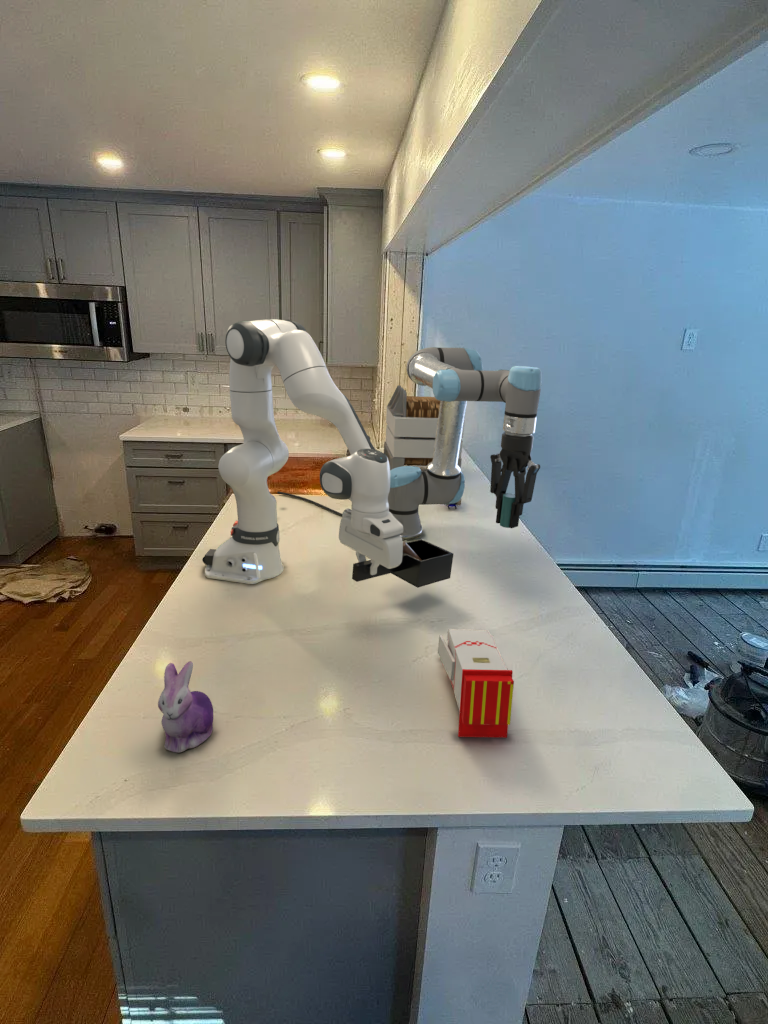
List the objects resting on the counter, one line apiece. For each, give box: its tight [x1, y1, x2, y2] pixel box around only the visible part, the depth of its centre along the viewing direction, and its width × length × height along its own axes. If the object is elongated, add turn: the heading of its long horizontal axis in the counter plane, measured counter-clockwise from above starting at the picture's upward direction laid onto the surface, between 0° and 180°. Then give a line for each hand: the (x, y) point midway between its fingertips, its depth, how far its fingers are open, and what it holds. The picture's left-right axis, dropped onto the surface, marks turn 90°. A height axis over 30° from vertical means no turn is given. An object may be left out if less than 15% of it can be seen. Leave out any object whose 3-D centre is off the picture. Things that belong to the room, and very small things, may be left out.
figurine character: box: [446, 498, 462, 510], centre depth 230 cm, size 7×8×15 cm
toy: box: [437, 628, 515, 738], centre depth 117 cm, size 12×13×30 cm
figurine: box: [157, 660, 214, 753], centre depth 100 cm, size 9×10×15 cm
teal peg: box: [499, 492, 515, 529], centre depth 142 cm, size 4×4×8 cm
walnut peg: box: [403, 540, 422, 561], centre depth 150 cm, size 4×4×8 cm
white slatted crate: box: [383, 384, 465, 470], centre depth 268 cm, size 34×33×41 cm
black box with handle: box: [351, 538, 454, 588], centre depth 145 cm, size 12×28×7 cm, turn 131°
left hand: (367, 571), depth 139 cm, fingers closed on black box with handle
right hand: (506, 524), depth 144 cm, fingers closed on teal peg, 3 cm apart
